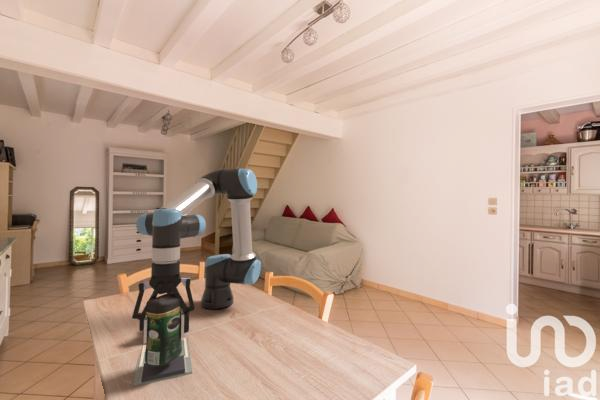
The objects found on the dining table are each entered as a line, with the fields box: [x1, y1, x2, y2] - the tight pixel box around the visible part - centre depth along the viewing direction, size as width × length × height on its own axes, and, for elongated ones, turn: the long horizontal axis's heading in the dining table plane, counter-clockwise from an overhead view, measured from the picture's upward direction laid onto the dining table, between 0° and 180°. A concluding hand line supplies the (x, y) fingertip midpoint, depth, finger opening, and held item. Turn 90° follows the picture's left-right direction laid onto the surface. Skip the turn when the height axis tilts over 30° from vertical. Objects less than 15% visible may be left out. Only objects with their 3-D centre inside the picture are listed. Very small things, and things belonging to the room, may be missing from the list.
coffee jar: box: [145, 292, 182, 367], centre depth 81 cm, size 10×8×19 cm
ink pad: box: [140, 355, 187, 383], centre depth 82 cm, size 12×8×1 cm
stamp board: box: [132, 337, 193, 387], centre depth 88 cm, size 15×22×1 cm
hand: (164, 338), depth 81 cm, fingers closed on coffee jar, 9 cm apart
